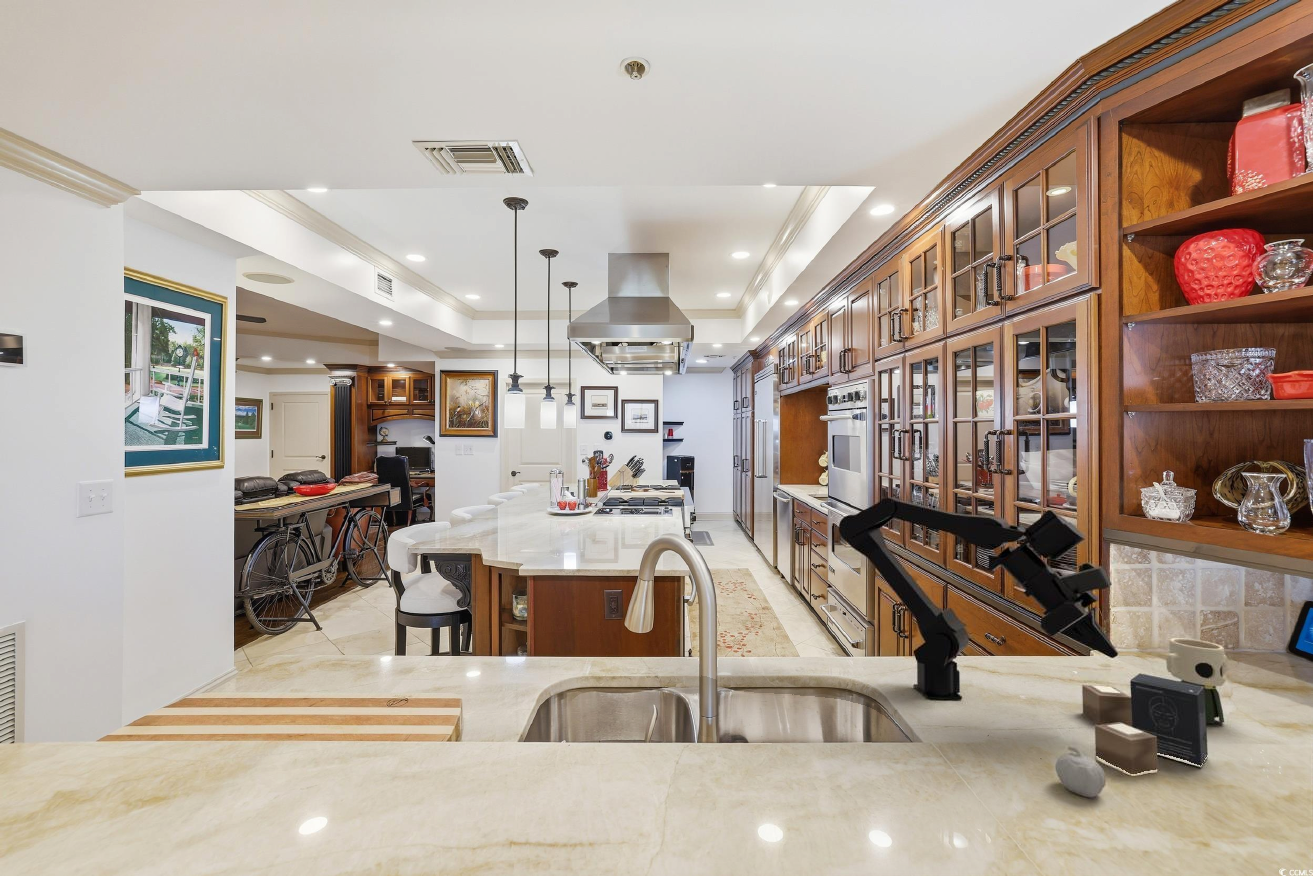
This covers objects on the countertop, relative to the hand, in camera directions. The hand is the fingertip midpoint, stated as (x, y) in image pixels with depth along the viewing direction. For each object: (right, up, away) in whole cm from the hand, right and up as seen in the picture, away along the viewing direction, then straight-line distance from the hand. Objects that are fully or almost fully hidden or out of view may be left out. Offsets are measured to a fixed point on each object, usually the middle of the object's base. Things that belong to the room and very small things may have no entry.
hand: (1115, 656), depth 93 cm
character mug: (+21, -14, +8) cm, 27 cm away
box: (+4, -13, -5) cm, 15 cm away
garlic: (-18, -12, -16) cm, 27 cm away
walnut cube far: (+4, -14, +7) cm, 16 cm away
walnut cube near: (-6, -12, -9) cm, 17 cm away
